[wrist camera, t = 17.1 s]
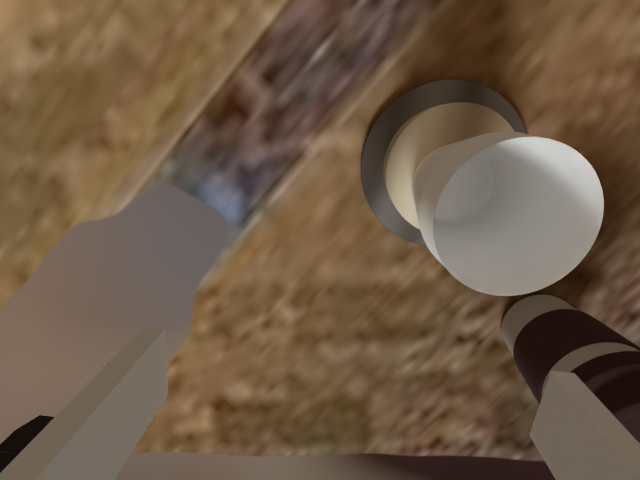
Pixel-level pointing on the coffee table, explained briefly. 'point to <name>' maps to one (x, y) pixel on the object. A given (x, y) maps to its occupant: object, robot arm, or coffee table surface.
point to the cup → (508, 210)
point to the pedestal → (424, 142)
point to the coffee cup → (575, 354)
